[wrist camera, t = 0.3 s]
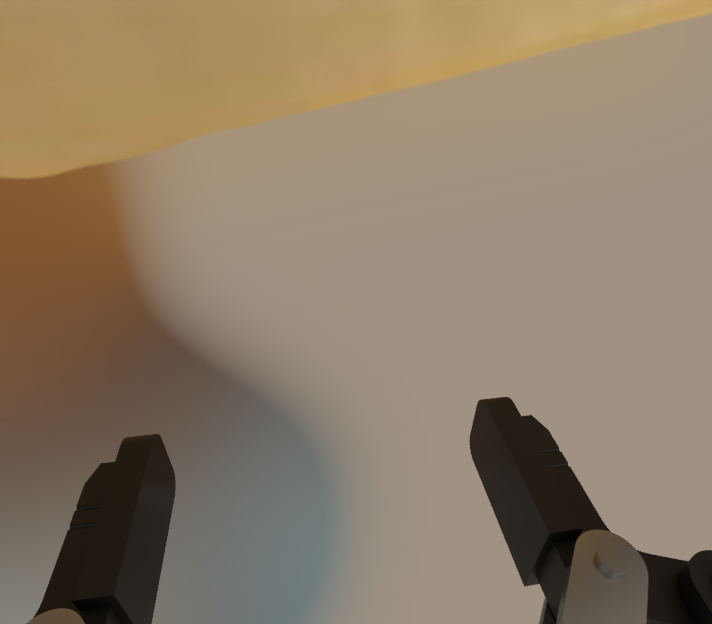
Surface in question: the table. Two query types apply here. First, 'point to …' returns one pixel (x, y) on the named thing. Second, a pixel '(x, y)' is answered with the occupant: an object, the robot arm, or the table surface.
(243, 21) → the table surface
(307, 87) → the table surface
